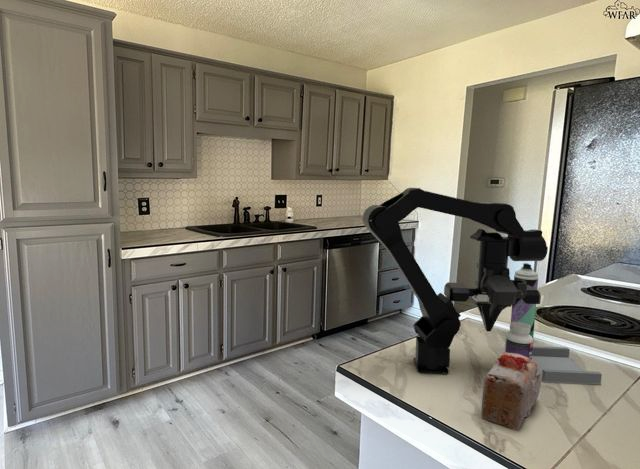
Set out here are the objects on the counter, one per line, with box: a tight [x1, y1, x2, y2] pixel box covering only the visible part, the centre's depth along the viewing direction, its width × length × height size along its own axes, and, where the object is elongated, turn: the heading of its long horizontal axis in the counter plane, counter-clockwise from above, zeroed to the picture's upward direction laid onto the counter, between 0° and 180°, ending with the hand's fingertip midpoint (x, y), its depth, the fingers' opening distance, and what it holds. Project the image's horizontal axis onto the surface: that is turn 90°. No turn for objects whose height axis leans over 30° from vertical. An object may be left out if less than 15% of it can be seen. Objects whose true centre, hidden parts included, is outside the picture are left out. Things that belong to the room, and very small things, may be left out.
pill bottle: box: [504, 321, 534, 360], centre depth 87 cm, size 5×5×10 cm
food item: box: [481, 351, 543, 431], centre depth 71 cm, size 14×8×10 cm, turn 143°
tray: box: [532, 345, 603, 386], centre depth 87 cm, size 11×13×2 cm
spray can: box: [509, 262, 539, 339], centre depth 103 cm, size 6×6×20 cm
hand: (488, 330), depth 87 cm, fingers closed
